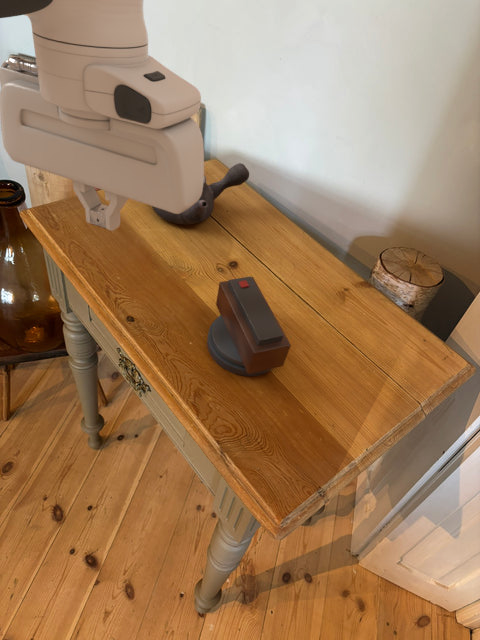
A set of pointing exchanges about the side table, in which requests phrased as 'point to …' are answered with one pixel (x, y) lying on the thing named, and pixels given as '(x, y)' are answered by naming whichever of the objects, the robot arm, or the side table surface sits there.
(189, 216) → the teapot
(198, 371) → the side table surface
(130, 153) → the robot arm
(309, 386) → the side table surface
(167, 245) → the side table surface
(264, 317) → the remote caddy
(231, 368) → the turntable base
